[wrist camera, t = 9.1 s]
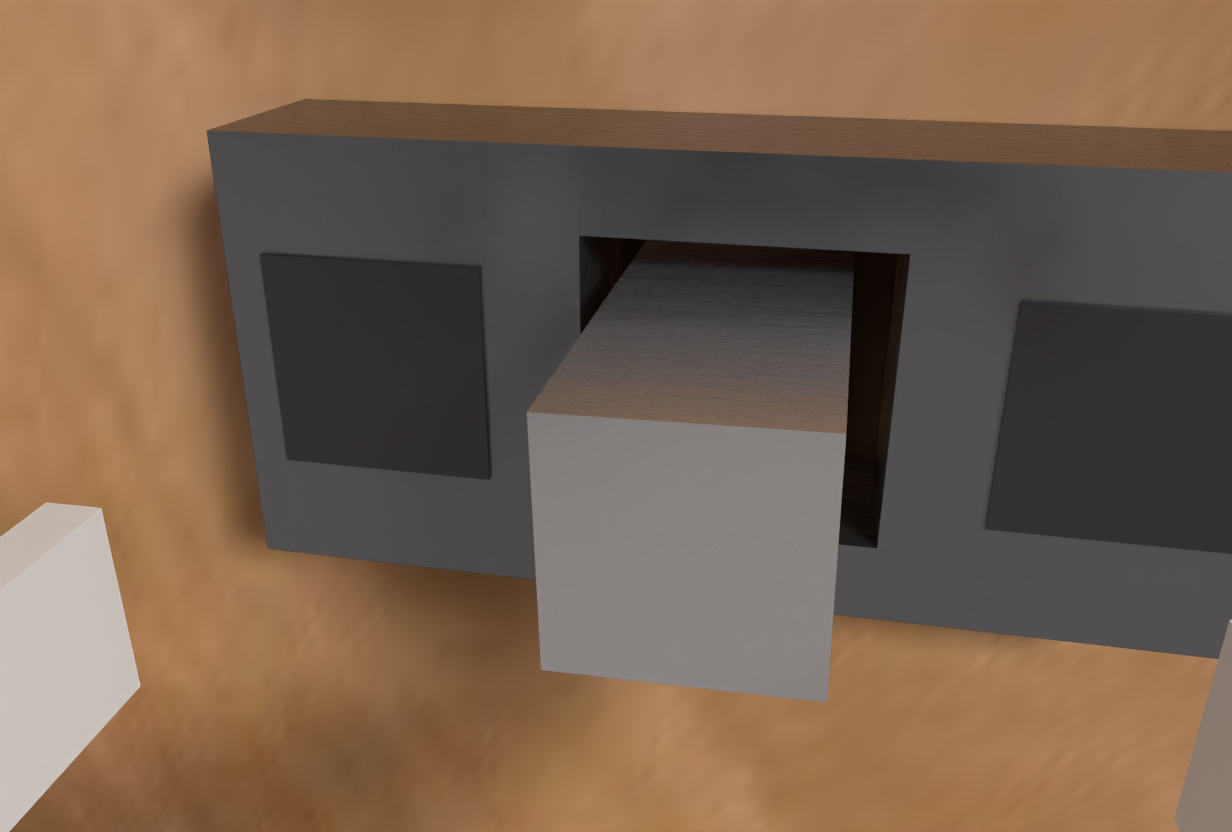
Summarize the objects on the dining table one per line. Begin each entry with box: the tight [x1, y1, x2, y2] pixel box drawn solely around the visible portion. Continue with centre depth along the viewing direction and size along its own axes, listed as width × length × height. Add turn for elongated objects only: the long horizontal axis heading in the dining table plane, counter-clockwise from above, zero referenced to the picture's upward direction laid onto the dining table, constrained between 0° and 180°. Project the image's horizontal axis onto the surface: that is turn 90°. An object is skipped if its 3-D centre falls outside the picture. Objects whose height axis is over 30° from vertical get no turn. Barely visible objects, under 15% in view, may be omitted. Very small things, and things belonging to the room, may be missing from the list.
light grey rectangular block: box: [527, 240, 855, 703], centre depth 20 cm, size 4×4×10 cm
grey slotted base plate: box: [207, 99, 1232, 659], centre depth 22 cm, size 20×9×4 cm, turn 90°
